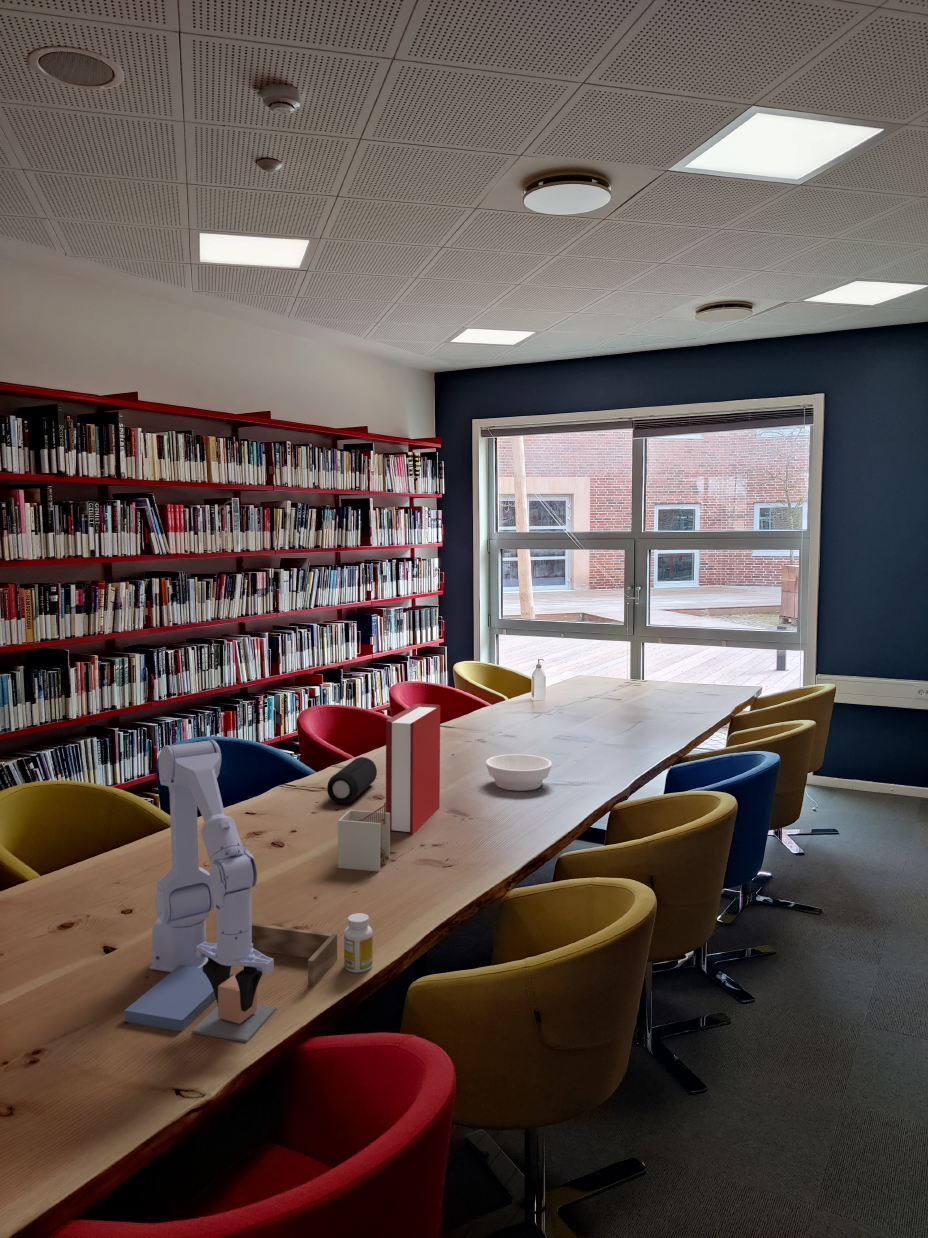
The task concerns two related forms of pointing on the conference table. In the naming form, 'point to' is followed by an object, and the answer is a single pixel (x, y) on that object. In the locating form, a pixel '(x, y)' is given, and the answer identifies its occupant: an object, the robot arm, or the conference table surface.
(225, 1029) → the felt mat
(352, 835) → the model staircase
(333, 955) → the walnut u-shaped open frame
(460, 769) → the conference table surface
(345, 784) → the portable speaker
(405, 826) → the book
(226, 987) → the terracotta block
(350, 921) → the supplement bottle
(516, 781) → the bowl
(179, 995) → the navy book
